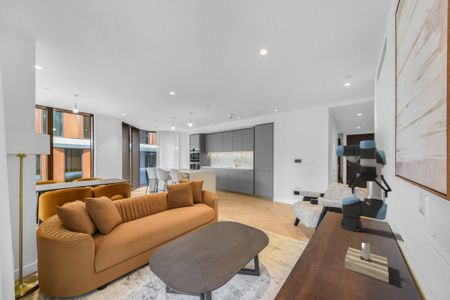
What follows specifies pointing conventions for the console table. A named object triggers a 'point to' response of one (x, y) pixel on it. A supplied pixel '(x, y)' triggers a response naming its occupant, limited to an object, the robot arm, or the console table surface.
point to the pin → (366, 251)
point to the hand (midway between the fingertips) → (368, 201)
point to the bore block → (367, 265)
